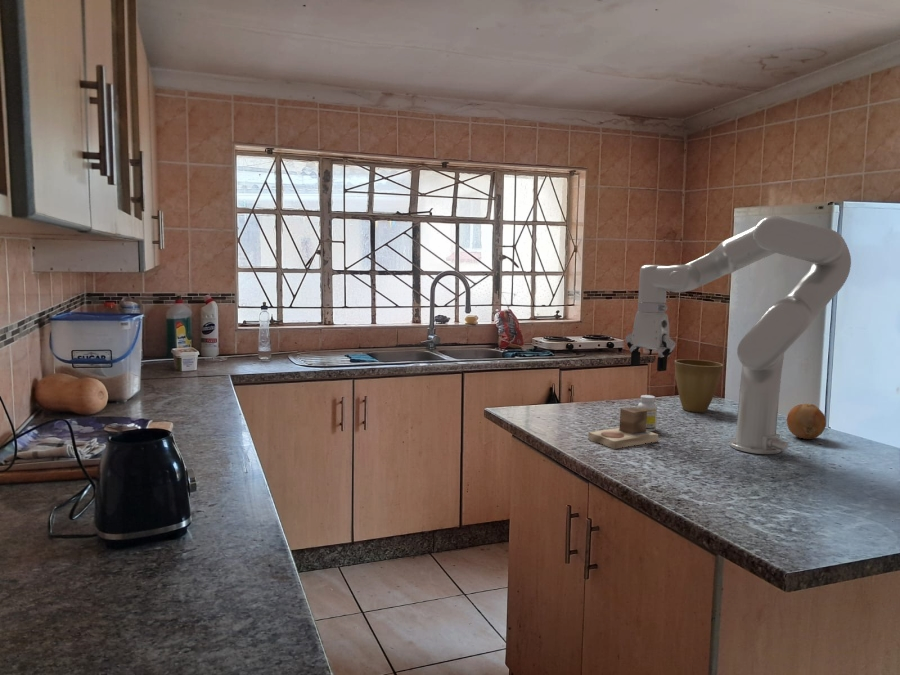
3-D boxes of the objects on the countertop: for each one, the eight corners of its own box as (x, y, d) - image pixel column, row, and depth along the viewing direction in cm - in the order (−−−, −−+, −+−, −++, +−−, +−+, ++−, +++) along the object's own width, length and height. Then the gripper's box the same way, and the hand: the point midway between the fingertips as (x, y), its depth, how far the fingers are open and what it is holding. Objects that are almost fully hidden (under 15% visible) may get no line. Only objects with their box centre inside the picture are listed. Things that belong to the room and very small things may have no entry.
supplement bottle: (641, 425, 198) (643, 393, 197) (658, 429, 195) (660, 396, 194) (633, 429, 194) (635, 396, 193) (651, 432, 191) (653, 399, 190)
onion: (814, 434, 193) (817, 400, 192) (830, 444, 183) (834, 408, 182) (779, 432, 194) (782, 399, 192) (793, 442, 184) (797, 406, 183)
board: (657, 441, 182) (658, 433, 181) (614, 448, 174) (614, 440, 174) (631, 432, 190) (631, 425, 190) (588, 439, 182) (588, 431, 182)
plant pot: (711, 417, 211) (715, 367, 209) (665, 410, 220) (668, 362, 218) (724, 409, 222) (728, 362, 220) (680, 402, 231) (683, 357, 229)
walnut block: (632, 434, 180) (633, 412, 179) (619, 429, 185) (620, 408, 184) (645, 432, 183) (647, 410, 182) (632, 427, 187) (633, 407, 186)
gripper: (685, 310, 184) (681, 372, 186) (637, 306, 198) (634, 362, 200) (667, 311, 180) (663, 374, 182) (619, 306, 194) (616, 364, 196)
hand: (648, 368), depth 191 cm, fingers open, 9 cm apart
